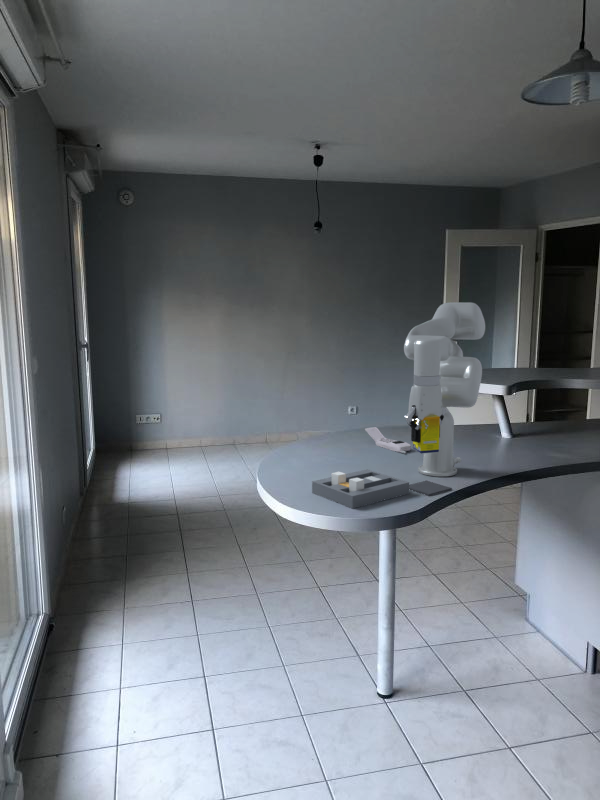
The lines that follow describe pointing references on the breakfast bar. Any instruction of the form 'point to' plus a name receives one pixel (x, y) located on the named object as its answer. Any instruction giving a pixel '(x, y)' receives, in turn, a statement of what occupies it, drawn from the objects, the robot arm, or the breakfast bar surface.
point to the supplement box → (428, 435)
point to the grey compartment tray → (373, 491)
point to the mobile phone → (387, 441)
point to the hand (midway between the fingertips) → (425, 439)
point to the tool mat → (428, 488)
